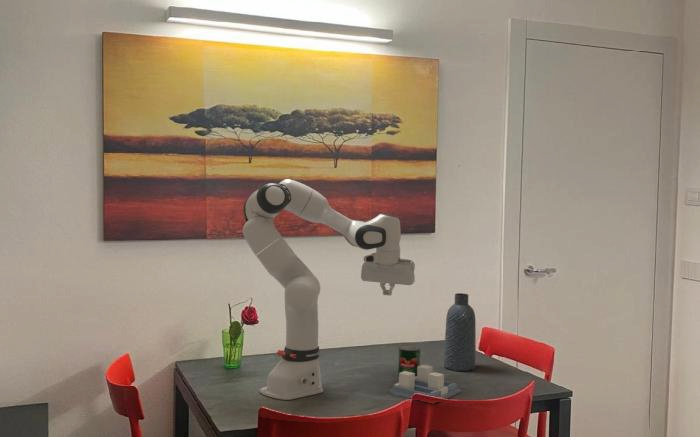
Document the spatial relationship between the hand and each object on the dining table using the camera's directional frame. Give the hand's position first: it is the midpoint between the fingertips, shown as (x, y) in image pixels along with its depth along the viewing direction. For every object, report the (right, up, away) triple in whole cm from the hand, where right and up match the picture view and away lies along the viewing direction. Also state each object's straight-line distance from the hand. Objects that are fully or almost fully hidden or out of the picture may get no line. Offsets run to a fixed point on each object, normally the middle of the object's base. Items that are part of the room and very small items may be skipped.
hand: (387, 295), depth 287 cm
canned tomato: (+8, -30, -3) cm, 31 cm away
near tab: (+5, -30, -24) cm, 39 cm away
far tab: (+12, -29, -16) cm, 35 cm away
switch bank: (+12, -31, -22) cm, 40 cm away
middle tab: (+15, -30, -25) cm, 42 cm away
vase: (+28, -29, +11) cm, 42 cm away
